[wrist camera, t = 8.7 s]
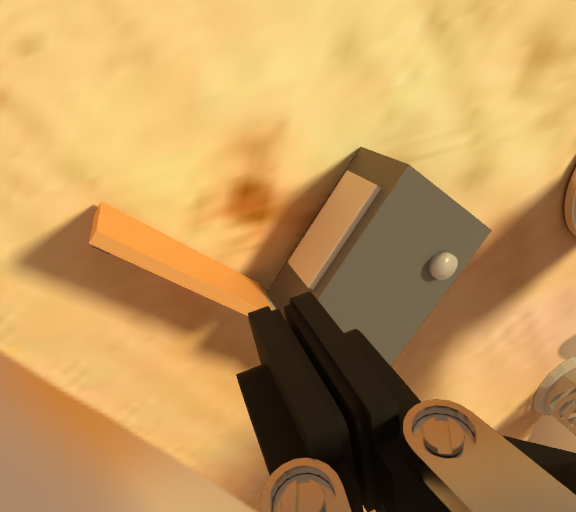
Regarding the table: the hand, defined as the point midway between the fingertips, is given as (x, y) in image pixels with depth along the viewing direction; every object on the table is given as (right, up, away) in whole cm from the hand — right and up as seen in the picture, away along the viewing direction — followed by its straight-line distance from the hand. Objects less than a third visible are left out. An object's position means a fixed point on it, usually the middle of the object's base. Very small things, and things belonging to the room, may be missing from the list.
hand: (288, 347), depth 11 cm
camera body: (+5, +3, +23) cm, 24 cm away
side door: (-7, +2, +18) cm, 19 cm away
